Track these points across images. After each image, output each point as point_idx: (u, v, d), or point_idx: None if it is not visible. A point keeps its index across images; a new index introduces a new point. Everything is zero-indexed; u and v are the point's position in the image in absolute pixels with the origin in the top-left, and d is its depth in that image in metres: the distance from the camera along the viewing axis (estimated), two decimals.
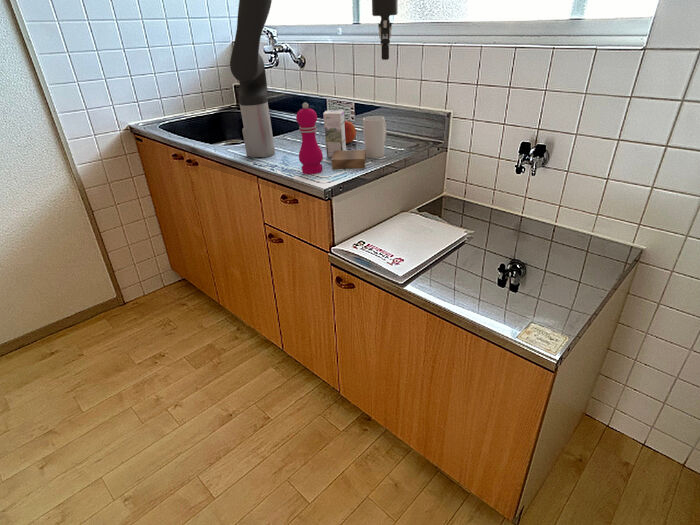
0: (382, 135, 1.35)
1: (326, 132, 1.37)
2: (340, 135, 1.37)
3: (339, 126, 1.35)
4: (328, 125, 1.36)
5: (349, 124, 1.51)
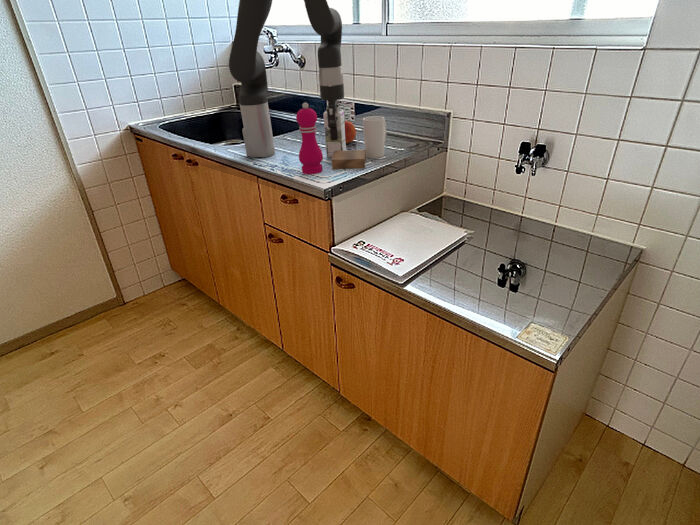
0: (382, 135, 1.35)
1: (326, 132, 1.37)
2: (340, 135, 1.37)
3: (339, 126, 1.35)
4: None
5: (349, 124, 1.51)
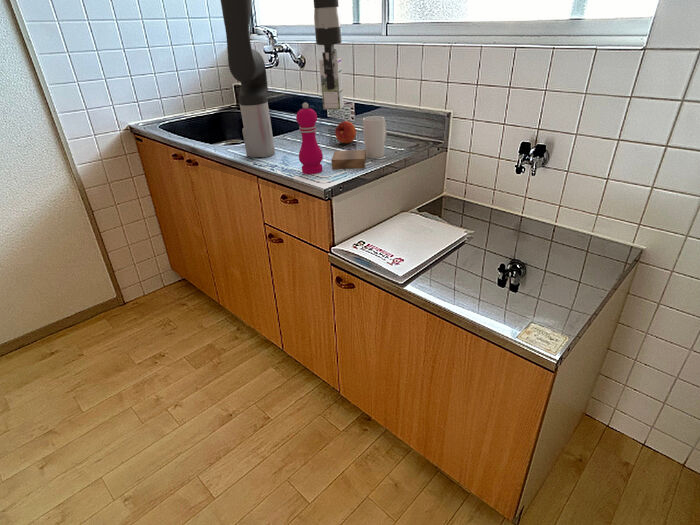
0: (382, 135, 1.35)
1: (322, 81, 1.29)
2: (337, 84, 1.29)
3: (336, 74, 1.27)
4: None
5: (349, 124, 1.51)
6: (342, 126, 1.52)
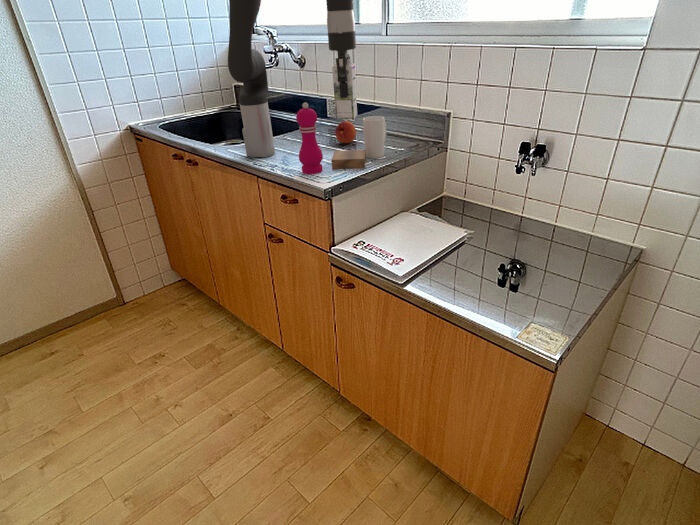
0: (382, 135, 1.35)
1: (335, 88, 1.21)
2: (351, 92, 1.21)
3: (350, 81, 1.19)
4: None
5: (349, 124, 1.51)
6: (342, 126, 1.52)
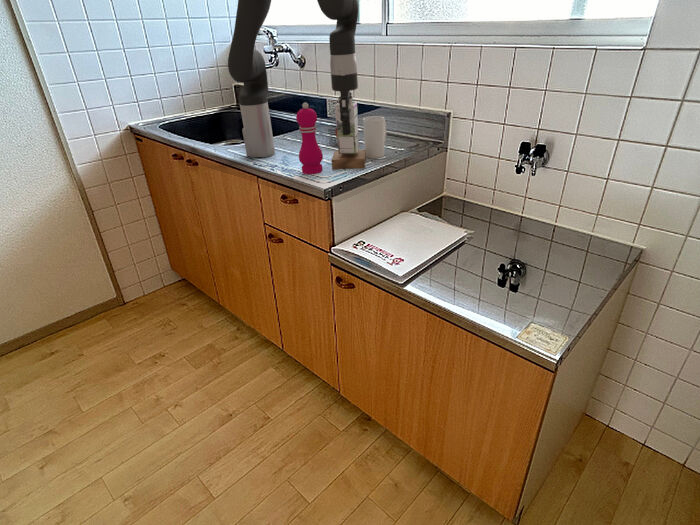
0: (382, 135, 1.35)
1: (338, 126, 1.26)
2: (353, 129, 1.26)
3: (352, 119, 1.24)
4: None
5: None
6: None
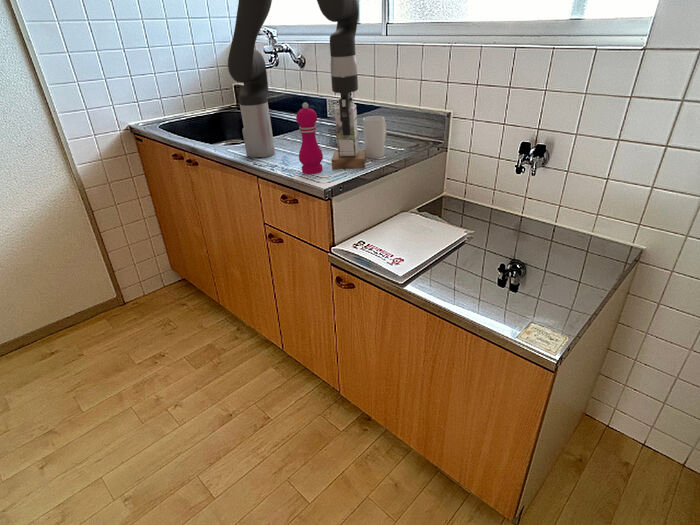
0: (382, 135, 1.35)
1: (337, 129, 1.26)
2: (353, 132, 1.26)
3: (352, 122, 1.25)
4: (340, 121, 1.25)
5: None
6: None
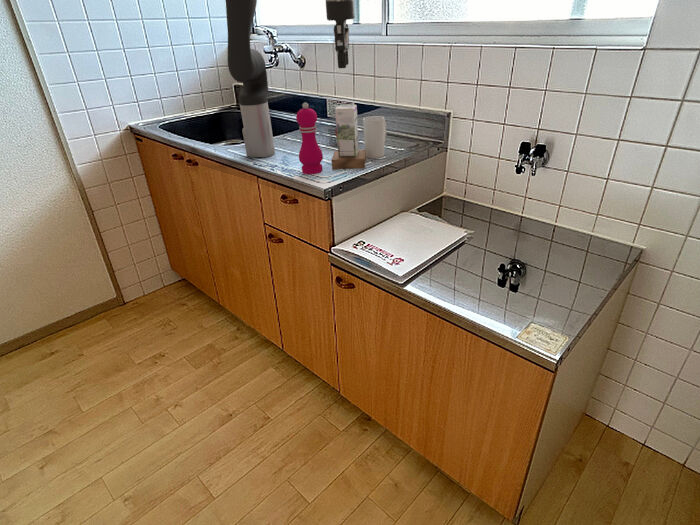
0: (382, 135, 1.35)
1: (338, 129, 1.26)
2: (353, 132, 1.26)
3: (352, 122, 1.25)
4: (340, 121, 1.25)
5: None
6: None
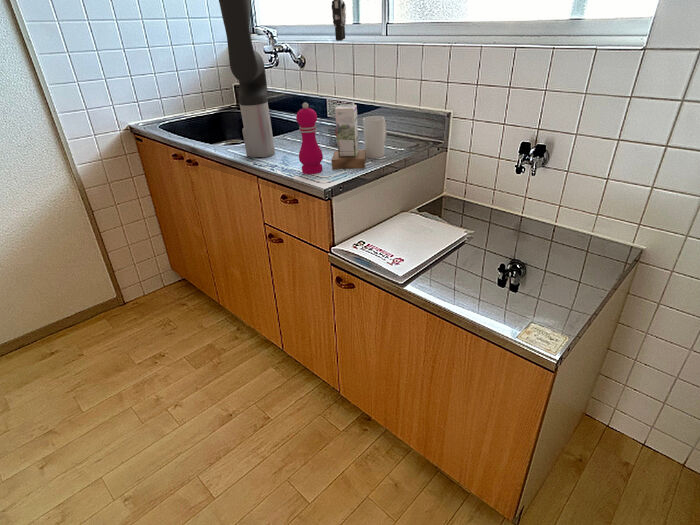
0: (382, 135, 1.35)
1: (338, 129, 1.26)
2: (353, 132, 1.26)
3: (352, 122, 1.25)
4: (340, 121, 1.25)
5: None
6: None
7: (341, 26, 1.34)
